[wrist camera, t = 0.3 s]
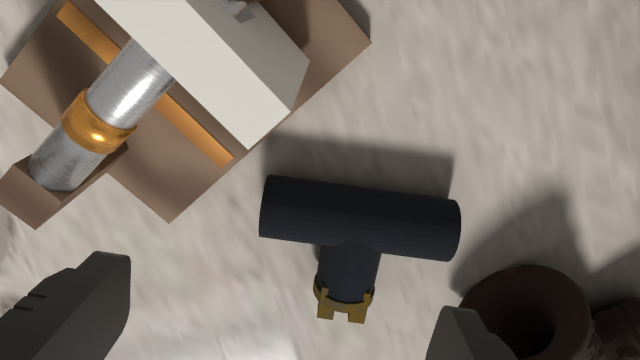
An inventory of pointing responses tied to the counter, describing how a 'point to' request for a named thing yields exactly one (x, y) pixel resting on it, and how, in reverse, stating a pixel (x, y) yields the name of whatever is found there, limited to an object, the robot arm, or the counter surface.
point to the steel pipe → (104, 116)
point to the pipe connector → (356, 234)
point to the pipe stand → (165, 116)
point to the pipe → (553, 317)
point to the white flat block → (220, 58)
